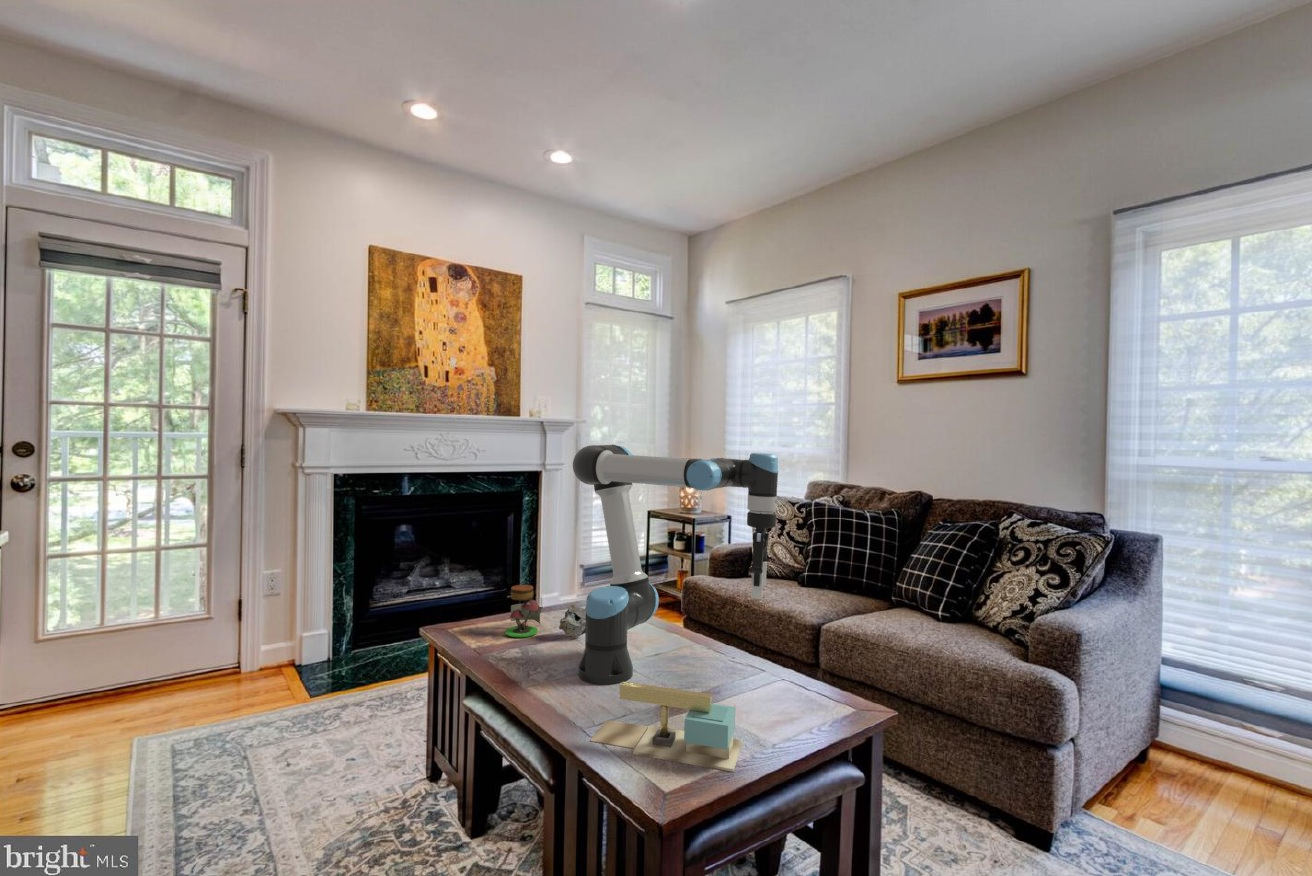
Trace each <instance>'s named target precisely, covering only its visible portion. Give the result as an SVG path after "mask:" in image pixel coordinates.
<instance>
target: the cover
mask: <svg viewBox="0 0 1312 876" xmlns="http://www.w3.org/2000/svg"><path fill="white" fill-rule="evenodd" d="M688 710H689V711H688V712H687V714H686V716H685V718H684V725H683V726H684V730H683V731H684V742H686V743H692V744H697V745H703V746H709V747H715V748H721V749H727V750H728V747H729V744H730V741H731V739H732V736H733V737H734V733H735V730H736V706H731V705H725V704H719V703H718V704H717V703H712V709H711V711H710V712H703V711H697V710H690V709H688Z"/></svg>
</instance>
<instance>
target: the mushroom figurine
mask: <svg viewBox="0 0 1312 876" xmlns="http://www.w3.org/2000/svg"><path fill="white" fill-rule="evenodd" d="M510 599H511V600H513V601H526V602H525V603H515V604H512V605H510V616H509V618H510V622H516V625H515V626H511V627H508V628H506V629H505V631H504V634H505V635H506V636H507V637H511V638H527V637H531V636H534V635H536V634H537V633H538V628H537V627H536V626H533V625H529V624H528V622H527V621H528V620H529V621H530V620H531V621H532V620H533V621H535V622H537V623H538V624H539V625H540V623H541V622H540V621H541V612H542V609H544V607H542V606H539V605H538V602H537V601H536V600H534V586H533V585H530V584H516V585H512V586H511V587H510ZM521 621H522V622H521Z"/></svg>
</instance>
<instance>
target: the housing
mask: <svg viewBox="0 0 1312 876" xmlns="http://www.w3.org/2000/svg"><path fill="white" fill-rule="evenodd" d="M660 736H661V726H657V725H652V724H651V725H649V726H648V728H647V730H646V731H645V733H644V734H643V736H642V737H641V739H640V740H639V742H638V744H637V745H636V747H635V748H634V749H633V751H632V754H633V755H637V756H641V757H647V758H653V759H659V760H664V761H671V762H675V763H681V764H686V765H693V766H698V767H699V766H700V767H702V768H703V767H704V768H710V769H714V770H715V769H716V770H720V771H721V770H722V771H726V772H734V770H735V769H736V768H735V767H736V764H737V761H738V759H739V756H740V753H741V749H742V746H743V740H742V739H736V738H734V735H733V736H732V739H731V741H730V744H729V747H728V750H727V749H721V748H715V747H709V746H703V745H697V744H692V743H686V742H684V730H681V729H674V728H669V727H668V738H662V737H660Z"/></svg>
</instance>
